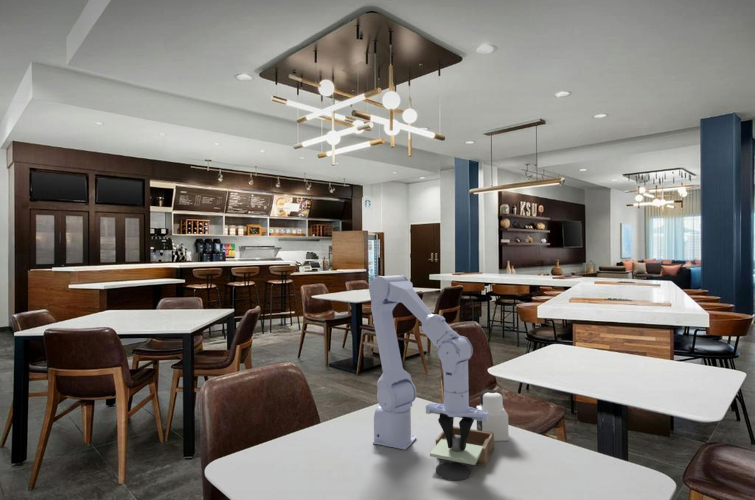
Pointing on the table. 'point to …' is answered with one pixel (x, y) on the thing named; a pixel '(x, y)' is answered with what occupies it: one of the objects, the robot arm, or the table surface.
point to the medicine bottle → (494, 415)
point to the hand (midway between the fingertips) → (456, 447)
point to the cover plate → (457, 451)
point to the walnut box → (476, 442)
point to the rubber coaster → (453, 471)
